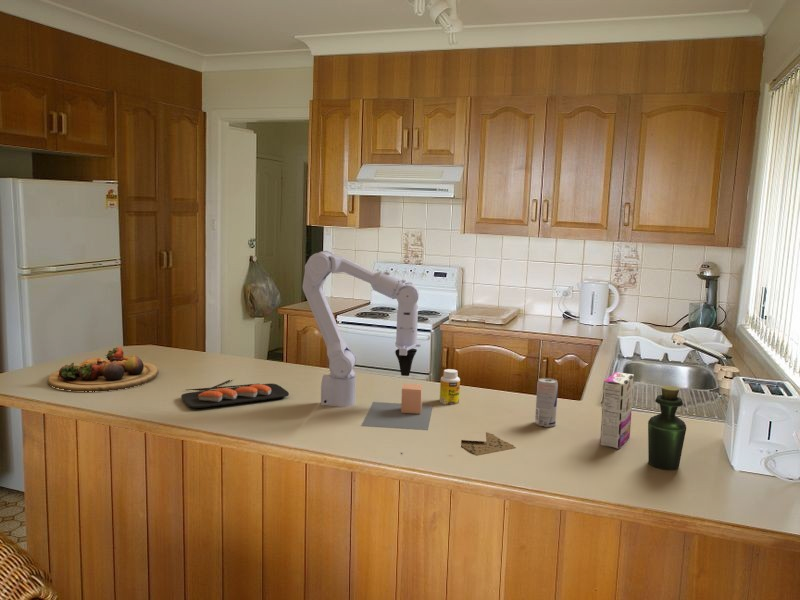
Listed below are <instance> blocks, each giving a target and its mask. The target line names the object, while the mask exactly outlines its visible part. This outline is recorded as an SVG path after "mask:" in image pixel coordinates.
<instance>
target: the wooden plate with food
mask: <svg viewBox="0 0 800 600" xmlns="http://www.w3.org/2000/svg"><path fill="white" fill-rule="evenodd" d="M124 353H125V352H124V350H123V348H122V347H119V346H118V347H117V346H115V347H113V348H112V350H108V351H107V354H104V356H106V357H105V358H106V359H105V358H101V357H95V356H94V357H89V358H87V359H85V360H84V361H82V362H81V363H79V364H75V362H71V364H69V365H68V364H65V365H63V366H62V367H61V368H59V369H58V370H56V371H54V372H53V373H51V374H50V375H49V377H48V378H47V384H48V385H49V386H50V385H51V386H53V387H55V388H59V389H64V390H71V391H84V392H83V393H90V392H89V391H92V392H91V393H96V392H95V391H107V392H110V391H109V390H116V391H119V390H118V389H123V390H126V389H125V388H128V389H131V388H130V387H133V388H135V387H134V386H137V387H139V386H138V385H140V386H142V384H143V385H146V384H147V383H151V382H152V381H153V380H155V379H156V378H157V377H158V375H159V369H158V367H157V366H156V365H154V364H153V363H150V362H147V361H143V360H142V359H141V358H140V357H139V356H137V355H135V354H132V355H131V356H129V355H127V356H124ZM145 383H146V384H145ZM51 386H50V387H51ZM85 391H87V392H85ZM93 391H94V392H93Z"/></svg>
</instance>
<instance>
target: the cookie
mask: <svg viewBox="0 0 800 600" xmlns="http://www.w3.org/2000/svg"><path fill="white" fill-rule="evenodd" d="M485 439H486V440H485V441H481V440H465V439H461V441H460V448H462V449H464V450H465V451H467V452H469V453H471V454H472V455H474V456H476V457H478V456H482V455H488V454H493V453H498V452H499V453H500V452H504V451H507V450H508V451H509V450H513V449H514V450H515V449H517V447H516V446H514V444H511V443H509V442H508V441H505V440H503V439H502V438H499V437H498V436H496V435H495V434H493V433H490V432H488V431H487V432H485Z"/></svg>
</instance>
